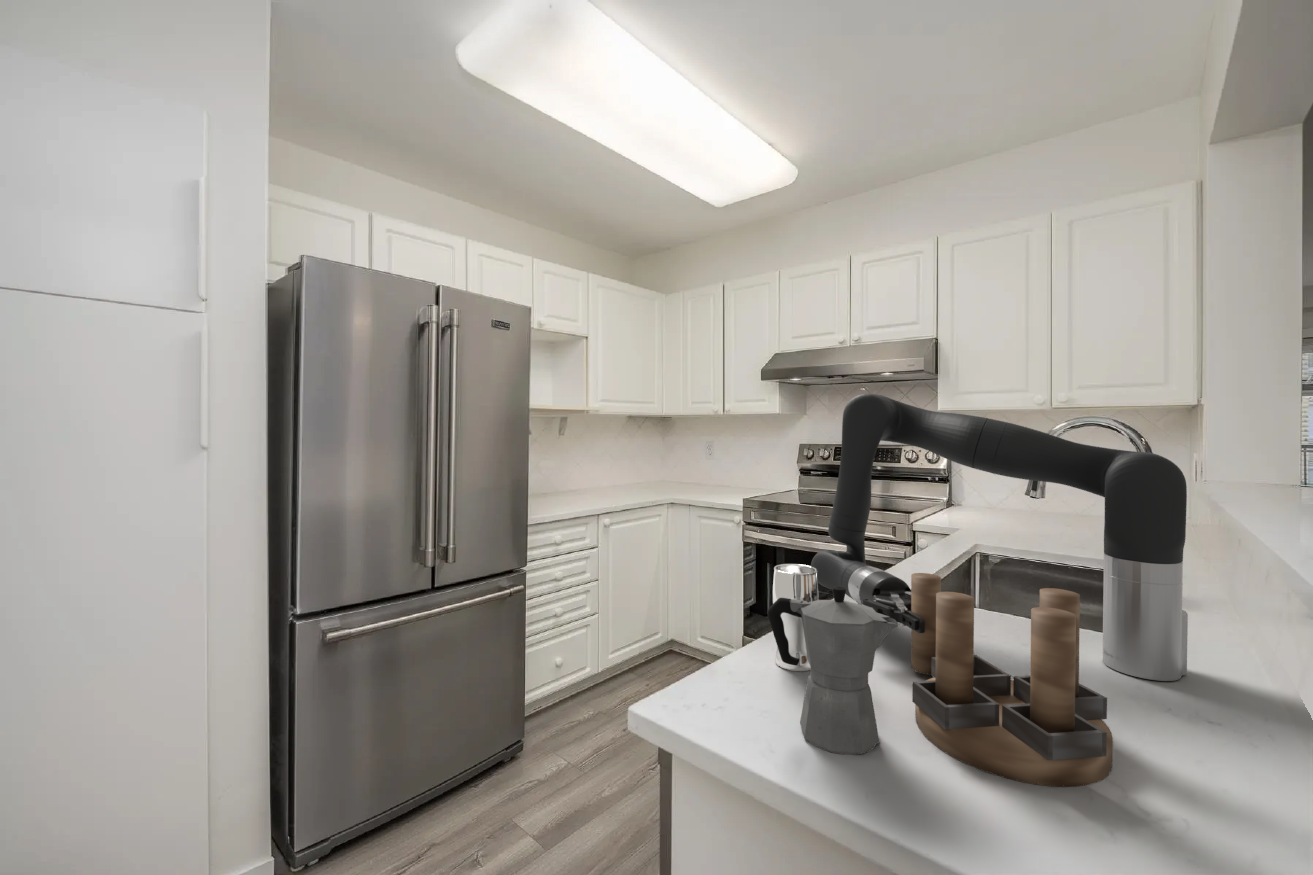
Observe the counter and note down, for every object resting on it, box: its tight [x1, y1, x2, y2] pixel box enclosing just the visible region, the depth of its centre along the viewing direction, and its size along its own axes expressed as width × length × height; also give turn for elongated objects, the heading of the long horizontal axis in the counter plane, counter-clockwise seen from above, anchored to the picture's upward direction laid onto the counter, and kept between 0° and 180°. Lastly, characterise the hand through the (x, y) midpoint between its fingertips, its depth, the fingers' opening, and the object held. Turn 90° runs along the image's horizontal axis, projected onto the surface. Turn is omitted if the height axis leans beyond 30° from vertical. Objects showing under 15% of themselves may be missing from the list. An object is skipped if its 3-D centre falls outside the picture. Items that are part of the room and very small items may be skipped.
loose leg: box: [910, 572, 942, 676], centre depth 85 cm, size 4×4×14 cm
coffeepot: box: [767, 586, 899, 756], centre depth 69 cm, size 15×9×18 cm, turn 62°
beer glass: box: [772, 563, 819, 672], centre depth 89 cm, size 7×7×15 cm
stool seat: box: [911, 587, 1114, 788], centre depth 69 cm, size 20×20×17 cm
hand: (937, 625), depth 83 cm, fingers closed on loose leg, 4 cm apart
